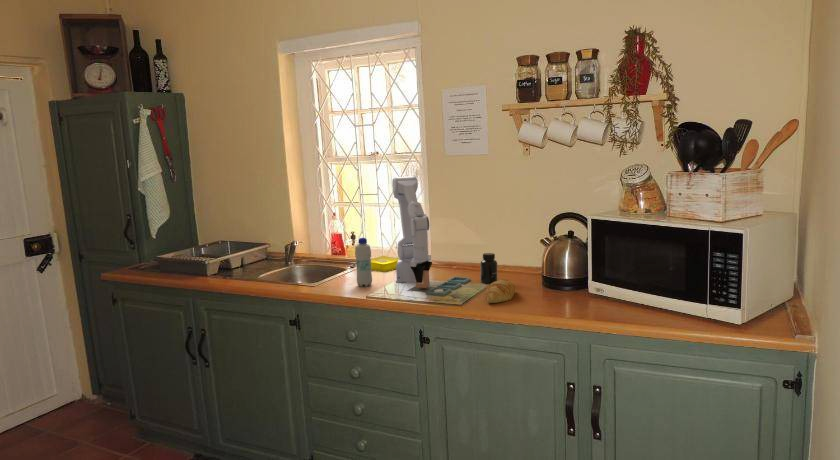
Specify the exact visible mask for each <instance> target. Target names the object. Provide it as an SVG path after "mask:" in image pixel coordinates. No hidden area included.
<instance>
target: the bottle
mask: <svg viewBox="0 0 840 460" xmlns="http://www.w3.org/2000/svg"><path fill="white" fill-rule="evenodd" d="M367 241H368V239H367V238H366V237H360V238H358V244H357V245H355V250H354V255H355V260H356V261H355V264H356V283H357V286H358V287H360V288H361V287H363V288H364V287H370V286H371V285H372V284H373V283H372V282H373V274H372V270H371V257H372V252H371V251H372V250H371V245H370V244H368V242H367Z"/></svg>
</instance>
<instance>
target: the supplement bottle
mask: <svg viewBox="0 0 840 460" xmlns="http://www.w3.org/2000/svg"><path fill="white" fill-rule="evenodd" d="M495 281H498V261H497V260H496V255H495V253H493V252H492V253H491V252H486V253H485V252H484V253H482V260H481V261H480V283H481V284H483V285H484V284H485V285H490V284H491V283H493V282H495Z"/></svg>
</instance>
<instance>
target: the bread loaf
mask: <svg viewBox="0 0 840 460" xmlns="http://www.w3.org/2000/svg"><path fill="white" fill-rule="evenodd" d="M486 289H487V290H486V302H487V303H488V304H496V303H503V302H508V301H511V300H512V299H513V298H514V297H515V296H514V295H515V292H516V291H515V290H516V289H515V285H514V283H512V282H511V281H508V279H497V281H495V282H493V283H491V284H488V286H487V288H486Z"/></svg>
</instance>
